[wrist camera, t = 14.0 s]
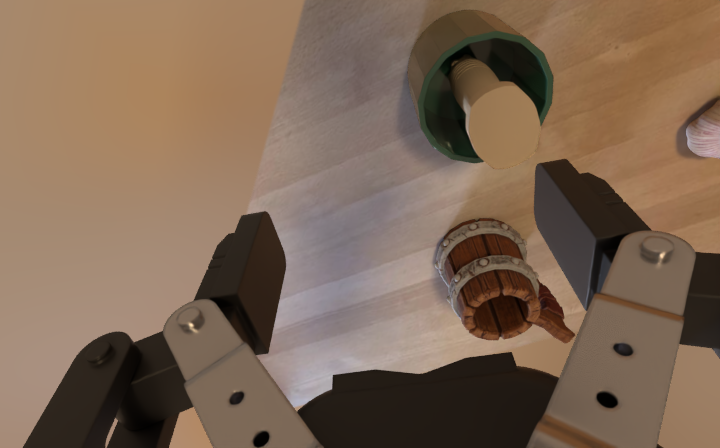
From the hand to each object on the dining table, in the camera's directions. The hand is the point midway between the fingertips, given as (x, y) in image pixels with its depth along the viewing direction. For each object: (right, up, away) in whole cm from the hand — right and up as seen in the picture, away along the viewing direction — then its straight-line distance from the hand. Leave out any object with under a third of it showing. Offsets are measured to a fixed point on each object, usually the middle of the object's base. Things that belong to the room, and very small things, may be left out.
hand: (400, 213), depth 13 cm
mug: (+16, -4, +45) cm, 48 cm away
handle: (+9, +15, +30) cm, 35 cm away
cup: (+9, +15, +31) cm, 36 cm away
